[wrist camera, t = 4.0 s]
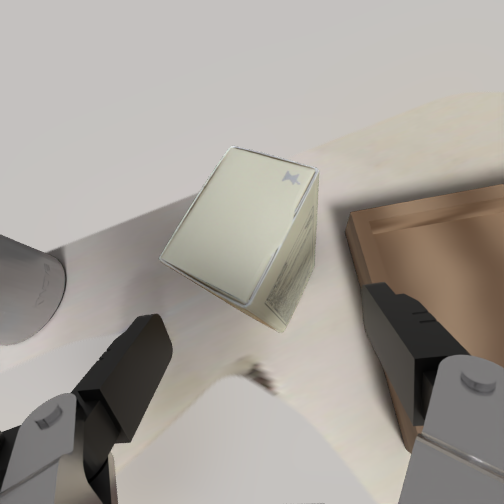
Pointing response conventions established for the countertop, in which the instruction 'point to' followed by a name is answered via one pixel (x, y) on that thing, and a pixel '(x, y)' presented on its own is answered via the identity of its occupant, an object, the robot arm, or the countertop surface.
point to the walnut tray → (439, 267)
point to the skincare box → (251, 234)
